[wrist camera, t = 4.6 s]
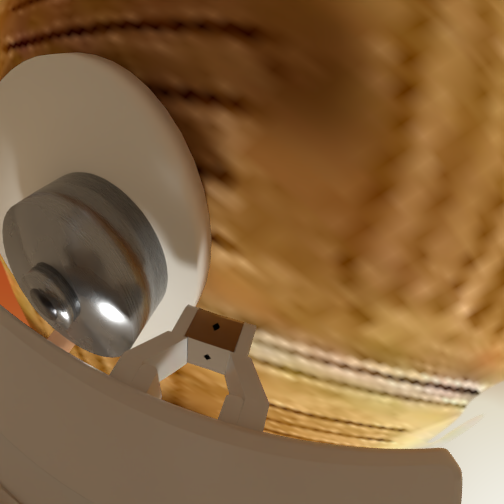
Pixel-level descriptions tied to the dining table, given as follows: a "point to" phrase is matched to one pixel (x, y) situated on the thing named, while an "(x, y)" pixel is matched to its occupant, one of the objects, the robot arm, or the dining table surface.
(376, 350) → the dining table surface
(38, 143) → the crank wheel
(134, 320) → the iron cover
